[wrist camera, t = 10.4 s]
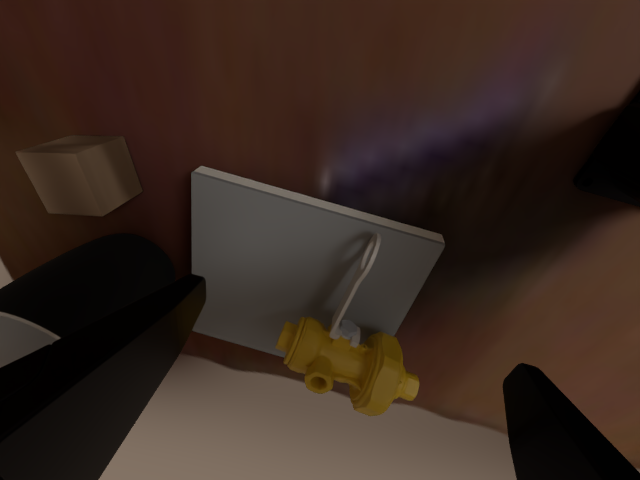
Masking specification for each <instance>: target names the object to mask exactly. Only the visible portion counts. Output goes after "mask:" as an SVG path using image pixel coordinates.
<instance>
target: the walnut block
mask: <svg viewBox="0 0 640 480" xmlns="http://www.w3.org/2000/svg"><path fill="white" fill-rule="evenodd" d="M15 153H16V154H17V156H18V158H19V160H20V162H21V164H22V165H23V167H24V169H25V171H26V173H27V174H28V176H29V178H30V180H31V182H32V184H33V185H34V187H35V189H36V191H37V193H38V195H39V196H40V198H41V200H42V202H43V204H44V206H45V207H46V209H47V211H48V213H55V214H71V215H88V216H104V215H106V214H108V213H109V212H111V211H112V210H114V209H116V208H117V207H119V206H120V205H122V204H124V203H125V202H127V201H128V200H130V199H132V198H133V197H135V196H136V195H138V194H140V193H141V192H143V191H142V188H141V185H140V182H139V179H138V176H137V173H136V170H135V168H134V165H133V162H132V159H131V156H130V153H129V150H128V148H127V145H126V142H125V139H124V136H79V135H71V136H68V137H65V138H61V139H58V140H54V141H51V142H48V143H44V144H41V145H37V146H34V147H31V148H27V149H24V150H20V151H17V152H15Z"/></svg>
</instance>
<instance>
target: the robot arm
mask: <svg viewBox="0 0 640 480" xmlns="http://www.w3.org/2000/svg"><path fill="white" fill-rule="evenodd" d="M587 178H589V180H588V181H587V182H586V183H584V184H582V182H583V181H584V180H585V179H587ZM573 184H574V185H575V186H576V187H577V188H578V189H580V190H583V191H586V192H590V193H593V194H597V195H600V196H604V197H607V198H611V199H614V200H618V201H621V202H625V203H628V204H632V205H635V206H639V207H640V91H639V93H638V94H637V95H636V97H635V98H634V99H633V101H632V102H631V103H630V105H628V106H627V107H626V108H625V109H624V111H623V112H622V113H621V115H620V116H619V117H618V119H617V120H616V121H615V123H614V124H613V125H612V127H611V128H610V129H609V131H608V132H607V133H606V135H605V136H604V137H603V139H602V140H601V141H600V143H599V144H598V145H597V147H596V148H595V150H594V151H593V154H592V155H591V157H590V158H589V159H588V161H587V162H586V163H585V165H584V166H583V167H582V169H581V170H580V171H579V173H578V174H577V175H576V177H575V178H574V180H573ZM205 302H206V279H205V278H204V277H203V276H199V275H195V274H189V275H187V276H185V277H183V278H181V279H179V280H177V281H175V282H173V283H171V284H169V285H167V286H165V287H163V288H161V289H159V290H157V291H155V292H153V293H151V294H149V295H147V296H145V297H143V298H141V299H139V300H137V301H135V302H133V303H131V304H129V305H127V306H125V307H123V308H121V309H119V310H116V311H114V312H112V313H110V314H108V315H106V316H104V317H102V318H100V319H98V320H96V321H94V322H92V323H90V324H88V325H86V326H84V327H82V328H80V329H78V330H76V331H74V332H72V333H70V334H68V335H66V336H64V337H62V338H60V339H58V340H56V341H54V342H53V343H52V345H51V344H48V345H46V346H44V347H42V348H40V349H38V350H36V351H34V352H32V353H30V354H28V355H26V356H24V357H21V358H19V359H17V360H15V361H13V362H11V363H9V364H7V365H5V366H3V367H1V368H0V480H98V479H99V478H100V476H101V475H102V473H103V471H104V470H105V468H106V467H107V465H108V464H109V462H110V461H111V459H112V458H113V456H114V454H115V453H116V451H117V450H118V448H119V447H120V445H121V444H122V442H123V441H124V439H125V438H126V436H127V435H128V433H129V431H130V430H131V428H132V427H133V425H134V424H135V422H136V421H137V419H138V418H139V416H140V414H141V413H142V411H143V410H144V408H145V407H146V405H147V404H148V402H149V400H150V399H151V397H152V396H153V394H154V393H155V391H156V390H157V388H158V387H159V385H160V384H161V382H162V380H163V379H164V377H165V376H166V374H167V373H168V371H169V370H170V368H171V367H172V365H173V363H174V362H175V360H176V359H177V357H178V355H179V354H180V352H181V350H182V348H183V347H184V345H185V343H186V341H187V339H188V337H189V335H190V333H191V331H192V329H193V327H194V325H195V323H196V321H197V319H198V317H199V315H200V313H201V311H202V309H203V307H204V305H205ZM503 394H504V403H505V412H506V420H507V429H508V437H509V444H510V449H511V454H512V459H513V463H514V468H515V473H516V478H517V480H640V473H639V472H638V471H637V470H636V469H635V468H634V467H633V466H632V464H631V463H630V462H629V461H628V460H627V459H626V458H625V457H624V456H623V455H622V454H621V453H620V452H619V451H618V450H617V449H616V448H615V447H614V446H613V445H612V444H611V443H610V442H609V441H608V440H607V439H606V437H605V436H604V435H603V434H602V433H601V432H600V431H599V430H598V429H597V428H596V427H595V426H594V425H593V424H592V423H591V422H590V421H589V420H588V419H587V418H586V417H585V416H584V415H583V414H582V413H581V412H580V411H579V409H578V408H577V407H576V406H575V405H574V404H573V403H572V402H571V401H570V400H569V399H568V398H567V397H566V396H565V395H564V394H563V393H562V392H561V391H560V390H559V389H558V388H557V387H556V386H555V385H554V384H553V382H552V381H551V380H550V379H549V378H548V377H547V376H546V375H545V374H544V373H543V372H542V371H541V370H540V369H539V368H537V367H535V366H532V365H528V364H524V363H521V364H518V365H517V366H516V367H515V368H514V369H513V370H512V371H511V373H510V374H509V375H508V376H507V377H506V378H505V379H504V382H503Z"/></svg>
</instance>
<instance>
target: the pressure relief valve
mask: <svg viewBox="0 0 640 480" xmlns="http://www.w3.org/2000/svg"><path fill="white" fill-rule="evenodd" d="M380 242H381V235H380V234H378V233H375V234H374V235H373V236H372V238H371V239H370V241H369V243H368V245H367V247H366V249H365V251H364V253H363V256H362V258H361V261H360V263H359V266H358V268H357V270H356V272H355V274H354V276H353V278H352V280H351V282H350V284H349V286H348V288H347V290H346V292H345V294H344V296H343V298H342V300H341V302H340V304H339V306H338V308H337V310H336V312H335V314H334V316H333V318H332V324H331V325H330V326H328V329H326V328H325V326H324V324H323V323H321V322H320V321H319V320H317V319H314V318H312V317H306V318H304V317H301V318H300V319H299V321H298V324H297V325H295V324H293V323H290V322H288V321H286V322H285V324H284V326H283V329H282V331H281V334H280V336H279V339H278V341H277V344H276V347H275V348H276V349H278V350H281V351H283V352H285V353H286V354H285V357H284V361H283V363H284V364H287V366H288V367H289V369H291V370H293V371H296V372H298V373H304V374H305V378H304V379H305V384H306V387H307V388H308V389H309V390H311V391H313V392H315V393H319V394H323V393H325V392H328V391H330V390H331V389H332V388H333V380H336V381H338V382H341V383H345V382H346V383H348V384H349V386H350V399H351V402H352V404H353V408H354V410H356V411H358V412H360V413H363V414H366V415H368V416H377V415H380V414H382V413H384V412H385V411H386V410H387V409H388V407H389V406H390V404H391V403H392V401H393V399H396V398H398V397H401V398H404V399H406V400H409V401H411V400H413V399H414V398H415V397H416V395H417V392H418V388H419V379H418V377H417V376H416V375H415V374H413V373H410V372H408V371H405V368H404V366H403V355H402V350H401V347H400V345H399V343H398V340H397V338H396V337H393V336H391V335H388V334H386V333H384V332H378V333H376V334H373V335H371V336H370V337H369V338H368V339H367V340H366V341H365V342H364V343H363V344H361V345H360V344H359V342H360V328H359V327H358V326H356V325H355V324H354V323H353V322H352V321H350V320H341V319H342V317H343V315H344V313H345V311H346V309H347V307H348V305H349V303H350V302H351V300H352V298H353V296H354V294H355V292H356V290H357V288H358V286H359V285H360V283H361V281H362V280H363V279H364V278H365V277H366V275H367V274H368V272H369V270H370V269H371V267H372V265H373V262H374V260H375V258H376V255H377V253H378V250H379V246H380ZM372 246H373V248H372ZM371 248H372V252H371V254H370V257H369V259H368V261H367V263H366V265H365V262H366V259H367V257H368V254H369V252H370V250H371ZM364 266H365V267H364Z"/></svg>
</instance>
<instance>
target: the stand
mask: <svg viewBox="0 0 640 480" xmlns="http://www.w3.org/2000/svg"><path fill="white" fill-rule="evenodd" d="M191 214H192V274H195V275H199V276H203V277H204V278H205V279H206V302H205V305H204V307H203V309H202V311H201V313H200V315H199V317H198V319H197V321H196V323H195V325H194V327H193V329H192V331H194V332H198V333H201V334H205V335H208V336H212V337H215V338H219V339H222V340H226V341H229V342H232V343H236V344H239V345H243V346H246V347H250V348H253V349H257V350H260V351H263V352H267V353H270V354H274V355H277V356H281V357H285V354H286V353H285V352H283V351H281V350H278V349H276V348H275V347H276V344H277V341H278V339H279V336H280V334H281V331H282V329H283V326H284V324H285V322H286V321H288V322H290V323H293V324H295V325H297V324H298V321H299V319H300V318H301V317H304V318H306V317H312V318H314V319H317V320H319V321H320V322H321V323H323V324H324V326H325V328H326V329H328V326H330V325H331V324H332V318H333V316H334V314H335V312H336V310H337V308H338V306H339V304H340V302H341V300H342V298H343V296H344V294H345V292H346V290H347V288H348V286H349V284H350V282H351V280H352V278H353V276H354V274H355V272H356V270H357V268H358V266H359V263H360V261H361V258H362V256H363V253H364V251H365V249H366V247H367V245H368V243H369V241H370V239H371V238H372V236H373V235H374V234H375V233H378V234H380V235H381V242H380V246H379V250H378V253H377V255H376V258H375V260H374V262H373V265H372V267H371V269H370V270H369V272H368V274H367V275H366V277H365V278H364V279H363V280H362V281H361V283H360V285H359V286H358V288H357V290H356V292H355V294H354V296H353V298H352V300H351V302H350V303H349V305H348V307H347V309H346V311H345V313H344V315H343V317H342V319H341V320H350V321H352V322H353V323H354V324H355V325H356V326H358V327H359V328H360V342H359V344H360V345H361V344H363V343H364V342H365V341H366V340H367V339H368V338H369V337H370V336H371V335H373V334H376V333H378V332H384V333H386V334H388V335H391V336H393V337H394V335H395V333H396V332H397V330H398V328H399V326H400V324H401V323H402V321H403V319H404V317H405V316H406V314H407V312H408V310H409V309H410V307H411V305H412V303H413V302H414V300H415V298H416V296H417V295H418V293H419V291H420V289H421V288H422V286H423V284H424V282H425V281H426V279H427V277H428V275H429V274H430V272H431V270H432V268H433V267H434V265H435V263H436V261H437V260H438V258H439V256H440V254H441V253H442V251H443V249H444V247H445V243H444V240H443V237H442V234H438V233H435V232H431V231H428V230H424V229H421V228H417V227H414V226H410V225H407V224H403V223H400V222H396V221H393V220H389V219H386V218H383V217H379V216H376V215H372V214H369V213H365V212H362V211H358V210H355V209H351V208H348V207H344V206H341V205H337V204H334V203H330V202H327V201H323V200H320V199H316V198H313V197H309V196H306V195H302V194H299V193H295V192H292V191H288V190H285V189H281V188H278V187H274V186H271V185H267V184H264V183H260V182H257V181H253V180H250V179H246V178H243V177H239V176H236V175H232V174H229V173H225V172H222V171H218V170H215V169H211V168H208V167H204V166H200V167H199V168H197V169H196V170H195V171H193V172H192V173H191ZM372 248H373V246H372ZM372 248H371V250H370V252H369V254H368V257H367V259H366V262H365V265H366V263H367V261H368V259H369V257H370V254H371V252H372ZM364 267H365V266H364Z"/></svg>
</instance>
